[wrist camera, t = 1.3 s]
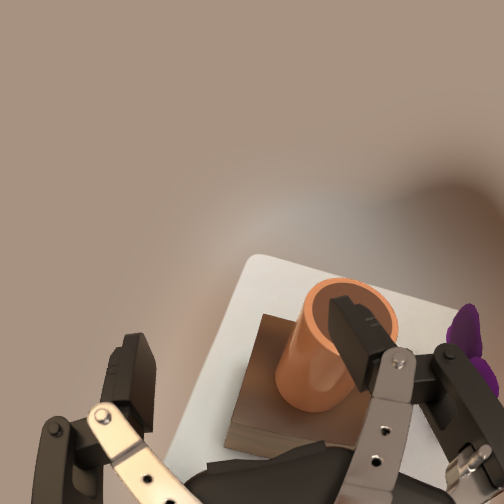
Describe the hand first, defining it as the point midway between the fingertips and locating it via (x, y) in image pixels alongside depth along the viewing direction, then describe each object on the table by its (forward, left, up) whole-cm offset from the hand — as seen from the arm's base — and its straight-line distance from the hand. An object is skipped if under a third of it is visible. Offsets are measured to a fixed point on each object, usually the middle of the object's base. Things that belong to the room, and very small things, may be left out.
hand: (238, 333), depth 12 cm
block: (+8, -1, -23) cm, 24 cm away
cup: (+8, -1, -12) cm, 14 cm away
